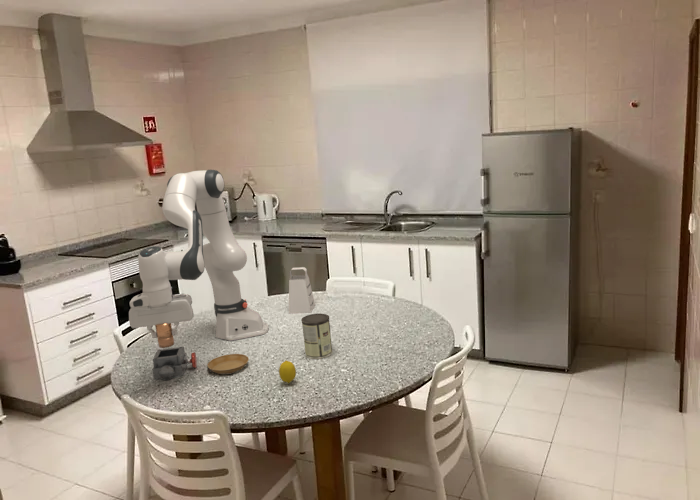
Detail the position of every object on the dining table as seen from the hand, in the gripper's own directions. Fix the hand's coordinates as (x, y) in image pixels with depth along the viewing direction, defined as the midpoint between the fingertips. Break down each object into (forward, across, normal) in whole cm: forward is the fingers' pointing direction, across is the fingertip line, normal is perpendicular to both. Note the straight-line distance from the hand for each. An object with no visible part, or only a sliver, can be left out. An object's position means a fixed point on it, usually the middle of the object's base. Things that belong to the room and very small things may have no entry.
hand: (165, 336), depth 188 cm
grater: (+20, -48, -68) cm, 86 cm away
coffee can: (+19, -51, -12) cm, 56 cm away
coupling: (+3, 0, 0) cm, 3 cm away
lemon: (+19, -39, +10) cm, 44 cm away
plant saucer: (+19, -18, -10) cm, 28 cm away
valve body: (+19, +1, -15) cm, 24 cm away
